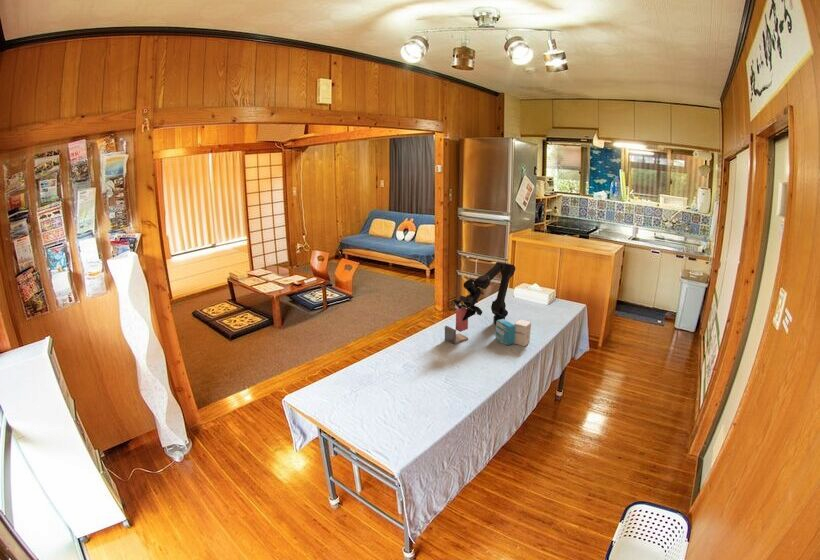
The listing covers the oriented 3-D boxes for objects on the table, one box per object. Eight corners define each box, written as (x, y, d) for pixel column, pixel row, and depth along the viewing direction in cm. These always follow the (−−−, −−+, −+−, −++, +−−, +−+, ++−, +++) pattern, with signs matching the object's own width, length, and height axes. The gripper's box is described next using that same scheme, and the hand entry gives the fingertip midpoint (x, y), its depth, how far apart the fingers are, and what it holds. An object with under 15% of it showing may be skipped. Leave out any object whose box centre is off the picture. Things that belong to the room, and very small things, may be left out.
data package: (495, 338, 252) (496, 319, 248) (501, 336, 253) (502, 318, 250) (508, 346, 241) (509, 327, 238) (514, 344, 243) (515, 325, 239)
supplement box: (512, 343, 245) (513, 323, 241) (518, 338, 250) (519, 319, 246) (524, 346, 240) (526, 326, 236) (530, 341, 246) (531, 321, 242)
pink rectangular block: (462, 326, 251) (463, 307, 247) (467, 328, 248) (468, 309, 244) (455, 329, 248) (456, 309, 244) (460, 331, 245) (461, 311, 241)
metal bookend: (446, 339, 251) (446, 325, 248) (455, 344, 245) (455, 330, 242) (444, 340, 250) (444, 326, 247) (453, 345, 244) (453, 330, 241)
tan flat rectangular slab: (458, 335, 257) (458, 333, 256) (468, 339, 250) (468, 337, 250) (446, 339, 251) (446, 337, 251) (455, 344, 245) (455, 342, 245)
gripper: (455, 286, 250) (441, 308, 247) (479, 294, 236) (465, 317, 233) (464, 295, 257) (451, 317, 254) (488, 303, 243) (474, 326, 240)
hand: (460, 319), depth 245 cm, fingers closed on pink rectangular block, 4 cm apart
